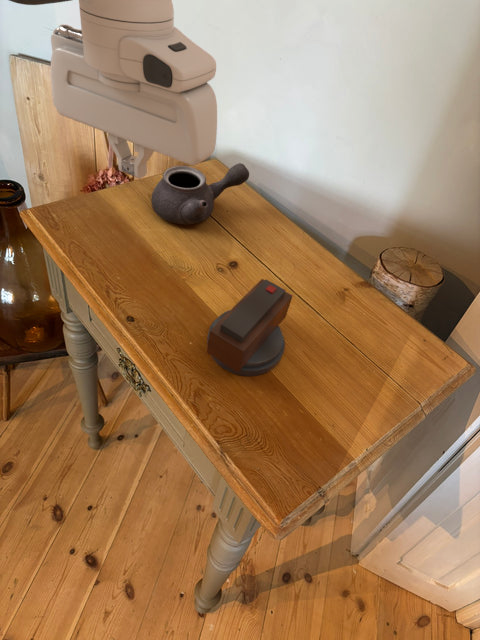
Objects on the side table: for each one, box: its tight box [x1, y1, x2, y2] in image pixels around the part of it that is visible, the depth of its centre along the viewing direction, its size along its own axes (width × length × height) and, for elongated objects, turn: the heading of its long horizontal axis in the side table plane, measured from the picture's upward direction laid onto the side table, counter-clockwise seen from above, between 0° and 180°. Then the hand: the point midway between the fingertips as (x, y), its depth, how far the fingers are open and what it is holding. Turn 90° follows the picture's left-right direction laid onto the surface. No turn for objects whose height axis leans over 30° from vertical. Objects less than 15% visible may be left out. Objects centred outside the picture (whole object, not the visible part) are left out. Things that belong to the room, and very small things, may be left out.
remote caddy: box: [206, 278, 293, 372], centre depth 68 cm, size 14×11×7 cm
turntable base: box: [206, 319, 286, 377], centre depth 72 cm, size 12×12×2 cm
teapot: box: [150, 162, 250, 225], centre depth 90 cm, size 19×15×10 cm
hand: (132, 173), depth 56 cm, fingers closed
